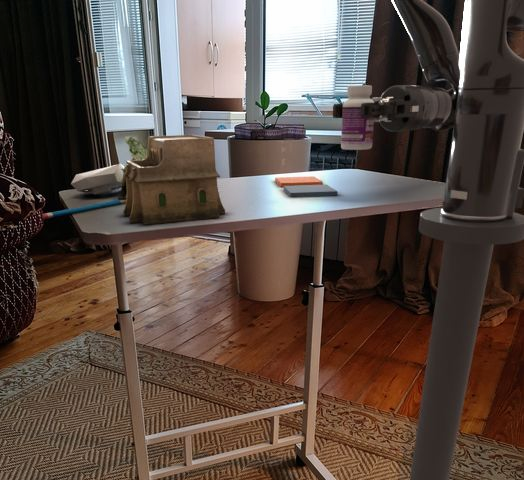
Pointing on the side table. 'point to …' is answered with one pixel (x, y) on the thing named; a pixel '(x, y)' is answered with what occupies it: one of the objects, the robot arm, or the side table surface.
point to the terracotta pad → (298, 181)
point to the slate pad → (310, 190)
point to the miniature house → (173, 181)
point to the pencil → (82, 209)
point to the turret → (99, 180)
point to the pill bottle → (356, 120)
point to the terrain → (136, 148)
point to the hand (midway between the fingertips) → (348, 110)
